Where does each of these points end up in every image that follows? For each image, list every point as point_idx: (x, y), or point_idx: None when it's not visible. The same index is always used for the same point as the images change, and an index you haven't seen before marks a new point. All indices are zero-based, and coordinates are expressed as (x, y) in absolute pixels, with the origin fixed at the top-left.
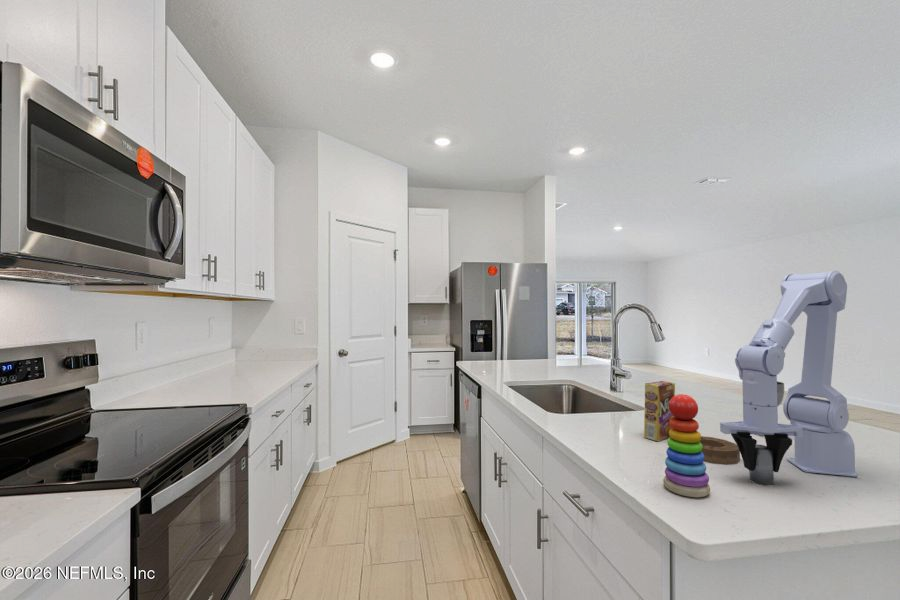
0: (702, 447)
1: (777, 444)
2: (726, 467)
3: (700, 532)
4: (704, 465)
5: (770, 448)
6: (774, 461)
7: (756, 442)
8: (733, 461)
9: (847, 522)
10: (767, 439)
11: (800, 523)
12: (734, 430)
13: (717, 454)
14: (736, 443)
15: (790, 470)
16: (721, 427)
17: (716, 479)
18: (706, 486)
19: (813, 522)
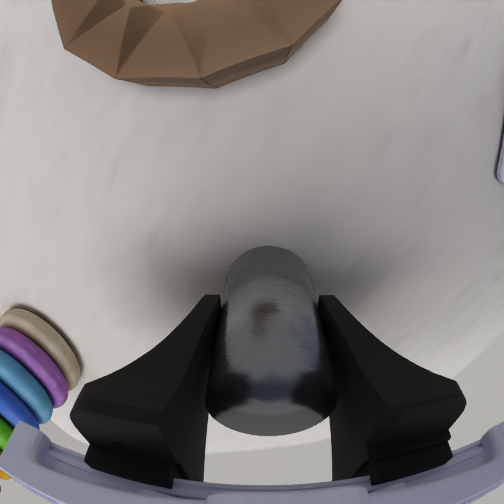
0: (85, 47)
1: (335, 459)
2: (194, 132)
3: (77, 433)
4: (45, 420)
5: (321, 412)
6: None
7: (202, 479)
8: (261, 68)
9: (310, 436)
10: (364, 408)
11: (218, 442)
12: (85, 477)
13: (155, 80)
14: (135, 364)
15: (469, 151)
16: (17, 452)
17: (106, 282)
18: (68, 387)
19: (245, 441)
